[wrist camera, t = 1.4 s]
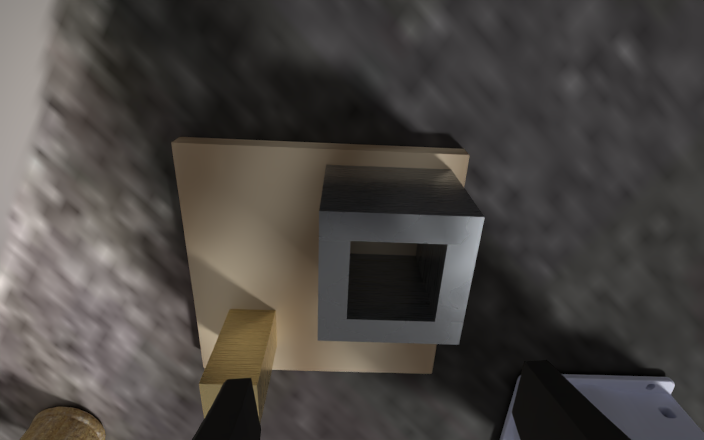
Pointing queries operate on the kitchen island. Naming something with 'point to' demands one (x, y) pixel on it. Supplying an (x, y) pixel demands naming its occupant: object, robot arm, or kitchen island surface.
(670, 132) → the kitchen island surface
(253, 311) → the brass post
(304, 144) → the plate
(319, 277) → the grey hollow square block
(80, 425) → the sprinkles bottle
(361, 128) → the kitchen island surface
